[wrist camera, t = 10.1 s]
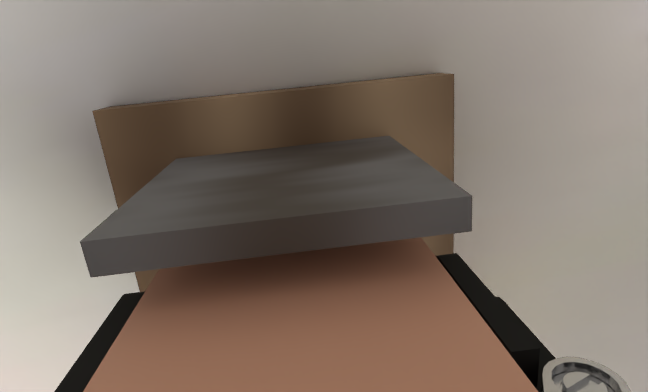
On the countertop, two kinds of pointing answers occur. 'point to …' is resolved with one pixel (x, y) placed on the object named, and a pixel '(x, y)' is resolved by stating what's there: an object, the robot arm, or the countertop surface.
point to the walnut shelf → (278, 174)
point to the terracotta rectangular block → (309, 328)
